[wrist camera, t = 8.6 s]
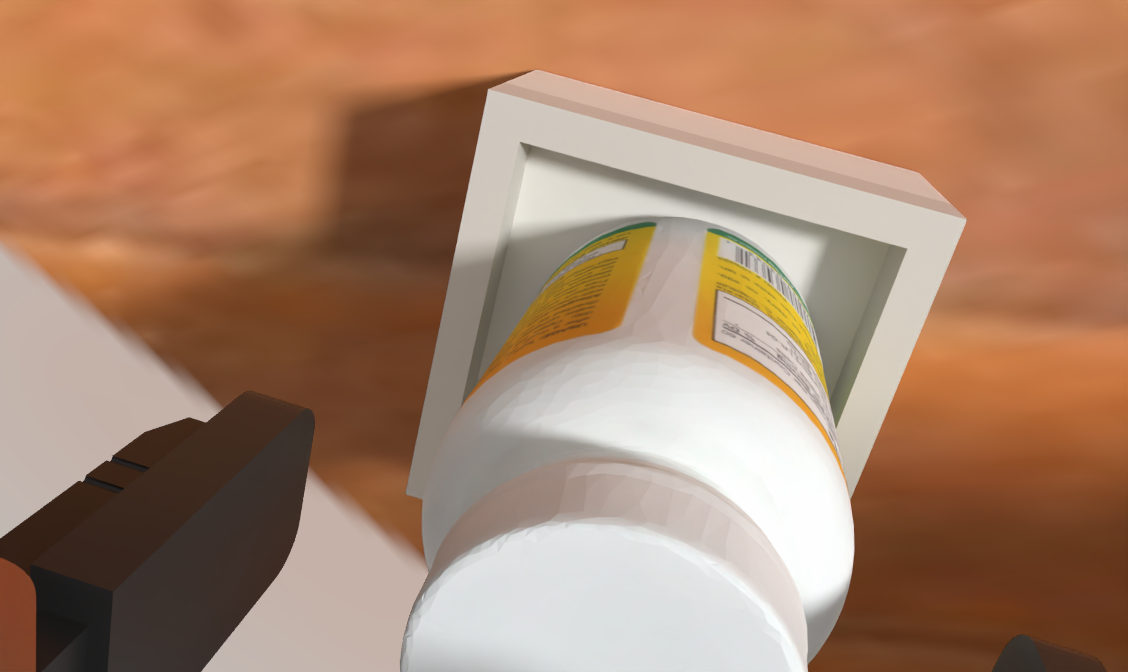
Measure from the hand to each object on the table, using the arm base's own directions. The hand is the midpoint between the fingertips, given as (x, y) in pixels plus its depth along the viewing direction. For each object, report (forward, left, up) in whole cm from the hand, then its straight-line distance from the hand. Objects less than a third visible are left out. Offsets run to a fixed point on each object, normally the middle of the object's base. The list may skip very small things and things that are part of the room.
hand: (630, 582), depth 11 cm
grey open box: (0, 0, -11) cm, 11 cm away
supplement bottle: (0, 0, -8) cm, 8 cm away
